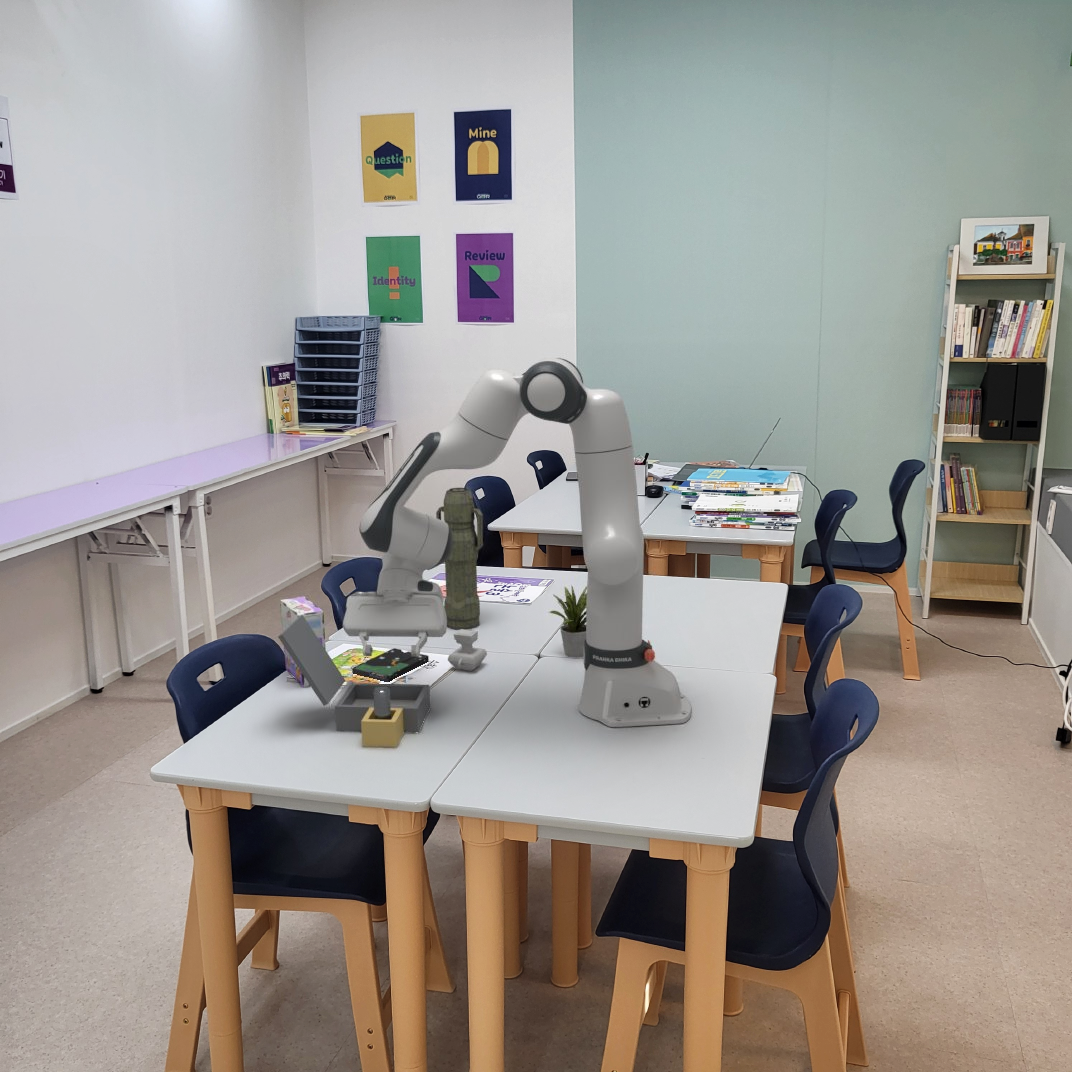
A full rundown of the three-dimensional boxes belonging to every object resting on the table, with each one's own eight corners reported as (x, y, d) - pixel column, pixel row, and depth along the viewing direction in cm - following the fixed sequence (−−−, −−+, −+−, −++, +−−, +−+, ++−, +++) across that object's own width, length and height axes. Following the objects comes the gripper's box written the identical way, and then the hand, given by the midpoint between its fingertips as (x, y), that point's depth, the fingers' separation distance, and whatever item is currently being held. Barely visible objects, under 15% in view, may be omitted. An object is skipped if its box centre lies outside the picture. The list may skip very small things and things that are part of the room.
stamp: (472, 676, 217) (471, 640, 215) (445, 672, 220) (444, 636, 218) (489, 662, 225) (488, 627, 223) (463, 659, 228) (462, 624, 226)
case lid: (302, 614, 198) (298, 617, 199) (282, 634, 187) (277, 636, 187) (345, 680, 201) (341, 682, 201) (328, 703, 189) (323, 706, 189)
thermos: (481, 631, 247) (477, 493, 239) (435, 628, 249) (430, 492, 241) (489, 620, 255) (486, 486, 247) (445, 618, 257) (440, 485, 249)
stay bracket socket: (404, 732, 189) (402, 708, 188) (396, 747, 183) (395, 722, 182) (371, 731, 190) (369, 707, 189) (362, 746, 184) (361, 721, 182)
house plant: (597, 669, 220) (597, 599, 217) (538, 662, 225) (537, 593, 221) (613, 648, 233) (613, 581, 230) (557, 642, 238) (556, 577, 234)
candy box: (329, 683, 214) (324, 610, 211) (302, 688, 212) (297, 615, 208) (309, 663, 226) (305, 594, 222) (284, 668, 223) (279, 598, 220)
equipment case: (430, 707, 201) (429, 681, 199) (418, 732, 189) (417, 705, 188) (348, 705, 202) (347, 680, 201) (331, 730, 190) (330, 703, 189)
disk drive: (393, 659, 230) (351, 679, 218) (393, 647, 230) (350, 667, 217) (429, 666, 225) (388, 687, 213) (429, 655, 224) (388, 675, 212)
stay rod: (393, 736, 188) (391, 686, 185) (389, 743, 185) (387, 693, 182) (378, 735, 188) (375, 686, 186) (374, 742, 185) (371, 692, 183)
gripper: (344, 584, 196) (334, 647, 189) (446, 584, 195) (439, 648, 187) (352, 599, 202) (342, 661, 194) (451, 599, 200) (445, 662, 193)
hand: (390, 655), depth 191 cm, fingers open, 8 cm apart
